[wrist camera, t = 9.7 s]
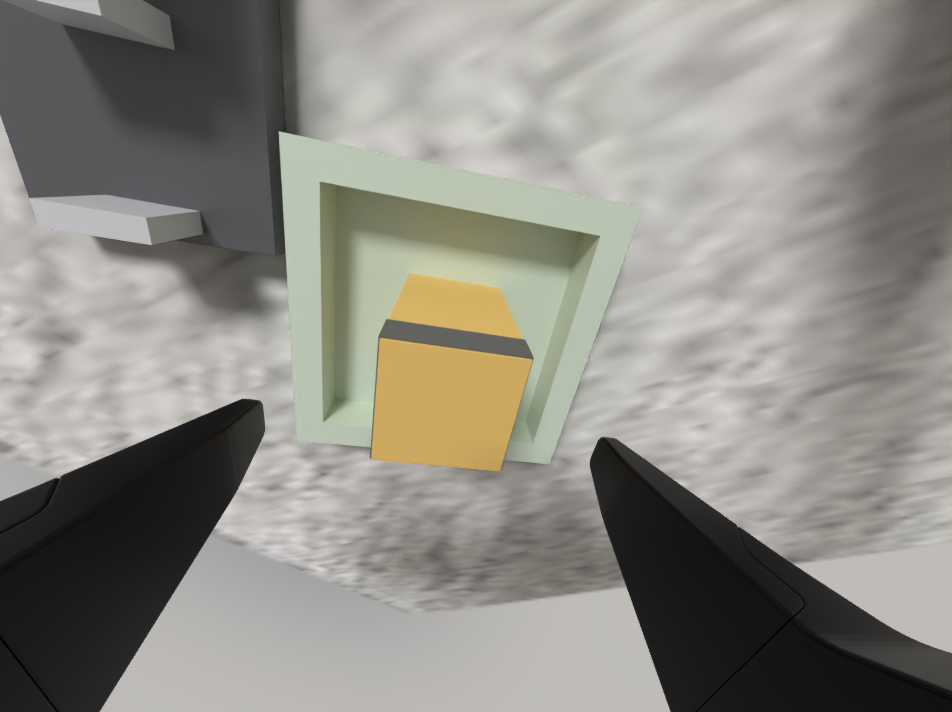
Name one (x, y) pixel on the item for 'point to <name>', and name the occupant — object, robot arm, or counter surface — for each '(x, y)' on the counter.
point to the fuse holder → (148, 118)
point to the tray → (437, 255)
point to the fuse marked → (448, 376)
